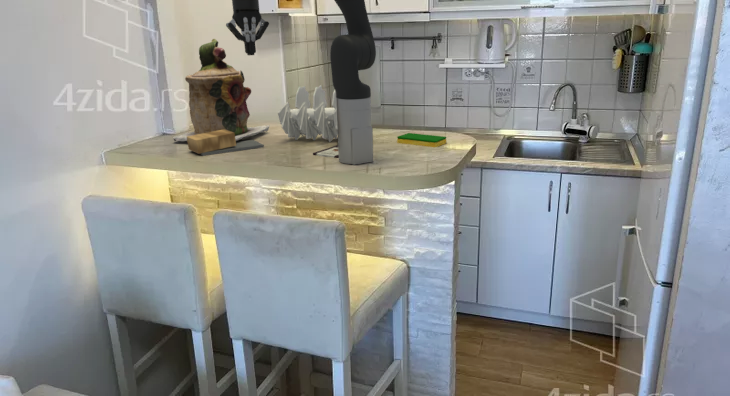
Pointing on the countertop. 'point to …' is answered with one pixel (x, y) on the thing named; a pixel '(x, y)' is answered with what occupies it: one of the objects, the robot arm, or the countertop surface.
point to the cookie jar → (218, 96)
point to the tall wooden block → (211, 141)
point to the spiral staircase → (310, 116)
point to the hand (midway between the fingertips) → (250, 55)
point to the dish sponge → (421, 140)
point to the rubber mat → (237, 147)
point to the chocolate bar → (328, 152)
